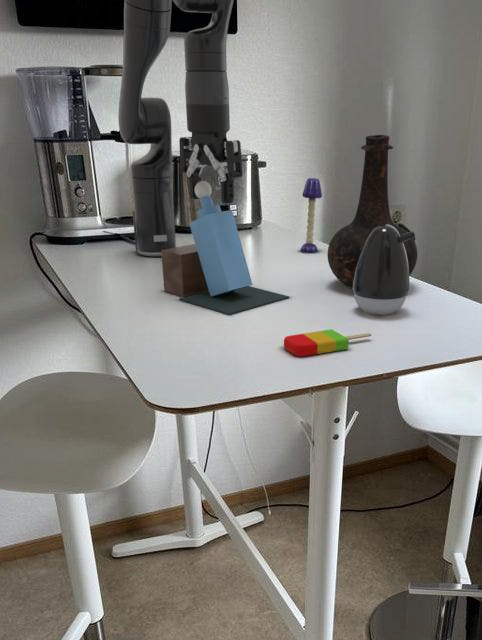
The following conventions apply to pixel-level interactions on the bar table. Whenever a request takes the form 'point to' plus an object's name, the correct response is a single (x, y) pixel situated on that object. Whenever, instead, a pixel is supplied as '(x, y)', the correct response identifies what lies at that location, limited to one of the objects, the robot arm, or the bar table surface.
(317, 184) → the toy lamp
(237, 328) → the bar table surface
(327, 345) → the popsicle
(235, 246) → the bottle
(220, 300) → the mat
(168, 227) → the robot arm
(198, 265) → the block
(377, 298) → the pump dispenser
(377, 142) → the glass bottle
